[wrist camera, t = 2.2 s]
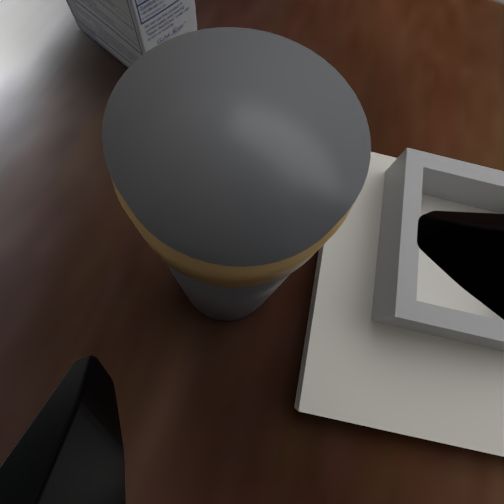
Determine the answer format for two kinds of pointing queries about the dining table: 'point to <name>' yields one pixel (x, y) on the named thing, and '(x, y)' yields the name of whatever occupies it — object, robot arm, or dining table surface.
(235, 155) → the grey can
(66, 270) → the dining table surface
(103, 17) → the medicine box
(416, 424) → the socket plate
